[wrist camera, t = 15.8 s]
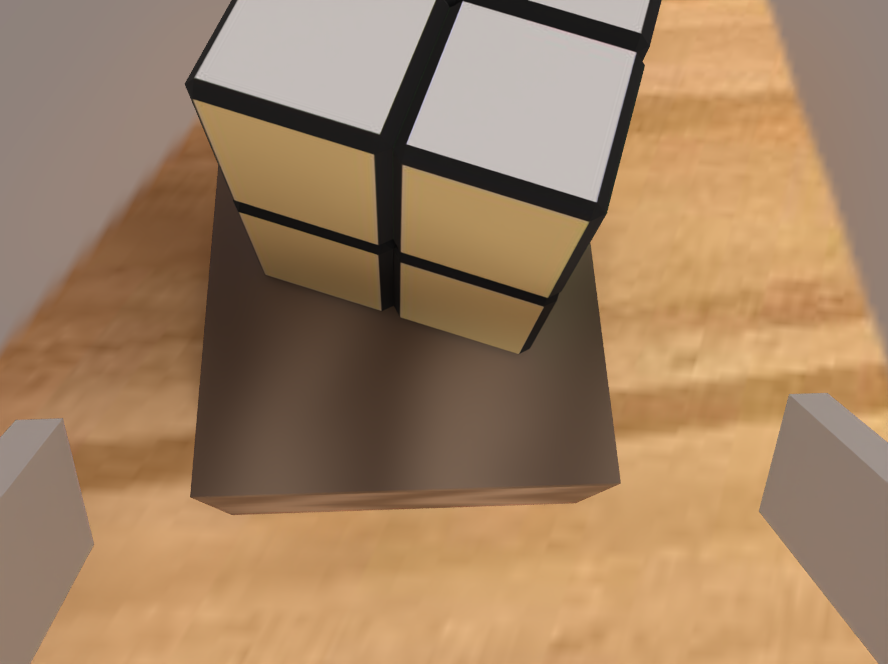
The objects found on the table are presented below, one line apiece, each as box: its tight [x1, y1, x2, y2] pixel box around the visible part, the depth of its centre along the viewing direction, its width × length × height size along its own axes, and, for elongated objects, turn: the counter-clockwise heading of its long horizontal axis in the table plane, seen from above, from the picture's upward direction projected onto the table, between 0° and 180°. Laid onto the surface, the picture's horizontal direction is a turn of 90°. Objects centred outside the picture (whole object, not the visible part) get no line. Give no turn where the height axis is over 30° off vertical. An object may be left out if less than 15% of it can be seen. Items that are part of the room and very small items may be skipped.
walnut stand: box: [190, 165, 621, 515], centre depth 27 cm, size 14×14×6 cm
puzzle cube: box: [185, 0, 661, 354], centre depth 21 cm, size 10×10×10 cm
